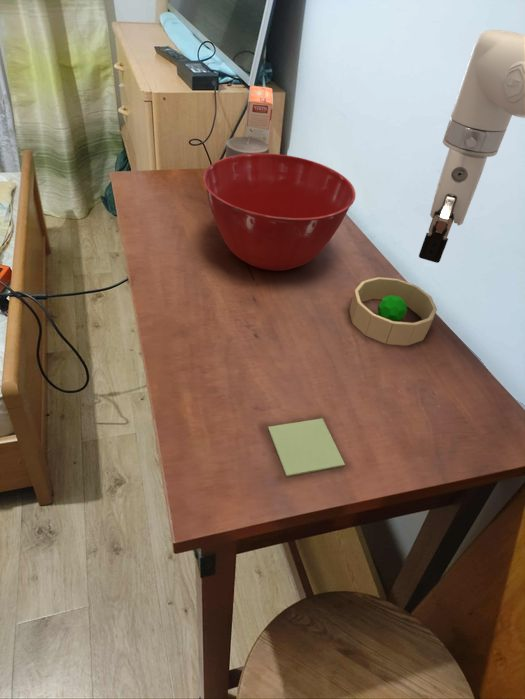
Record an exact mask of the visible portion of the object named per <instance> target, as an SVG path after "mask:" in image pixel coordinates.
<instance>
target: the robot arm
mask: <svg viewBox="0 0 525 699" xmlns="http://www.w3.org/2000/svg"><path fill="white" fill-rule="evenodd" d="M512 117H516V118H522V119H525V34H524V33H519V32H516V31H511V30H510V31H509V30H502V29H489V30H485V31H483V32H482V33H480V34H479V35H478V36H477V38H476V40H475V42H474V45H473V47H472V50H471V54H470V56H469V59H468V63H467V66H466V69H465V72H464V74H463V77H462V81H461V84H460V87H459V90H458V93H457V96H456V99H455V103H454V106H453V109H452V111H451V114H450V116H449V120H448V123H447V126H446V130H445V133H444V136H443V139H442V144H443V145H444V146H445V147H446V148H448V151H447V154H446V157H445V160H444V163H443V167H442V169H441V172H440V176H439V179H438V182H437V186H436V189H435V193H434V196H433V201H432V205H431V209H430V214H429V216H430V217H431V221H430V225H429V227H428V232H426V233H425V236H424V239H423V243H422V245H421V248H420V251H419V253H418V258H419V259H423V260H425V261H429V262H432V263H436V264H439V263H440V261H441V259H442V257H443V254H444V251H445V249H446V246H447V243H448V241H449V238H448V237H449V233H450V230H451V228H452V225H453V223H454V224H457V226H461V225H463V224H464V222H465V218H466V216H467V214H468V211H469V208H470V205H471V202H472V200H473V197H474V195H475V192H476V190H477V188H478V185H479V183H480V179H481V177H482V174H483V172H484V168H485V165H486V162H487V159H488V158H490V157H494V156H496V155H498V152H499V149H500V147H501V145H502V142H503V139H504V136H505V134H506V132H507V129H508V126H509V124H510V122H511V119H512Z"/></svg>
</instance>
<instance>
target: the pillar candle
mask: <svg viewBox="0 0 525 699" xmlns="http://www.w3.org/2000/svg"><path fill="white" fill-rule="evenodd" d="M225 145H226V147H225V158H227V157H231V156H235V155H242V154H252V153H269V154H270V145H269V143H268V144H267V143H266V142H264V141H262V140H260V139H256V138H251V137H245V136H235V137H231V138H229V139H227V140H226V141H225Z"/></svg>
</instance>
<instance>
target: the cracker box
mask: <svg viewBox="0 0 525 699" xmlns="http://www.w3.org/2000/svg"><path fill="white" fill-rule="evenodd" d="M246 106H247V107H246V116H245V117H246V118H245V128H244V137H251V138H256V139H260V140H262V141H264V142H266V143H267V144H268V145H269V140H270V132H271V123H272V116H273V107H274V98H273V88H271V87H268V86H256V85H249V91H248V98H247V105H246Z"/></svg>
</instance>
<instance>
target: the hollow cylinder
mask: <svg viewBox="0 0 525 699" xmlns="http://www.w3.org/2000/svg"><path fill="white" fill-rule="evenodd" d="M389 295H393V296H399V297H401V298H402V299H403V300H404V301H405V303H406V305H407V308H409V309H410V310H411V311H413V312H414V313H415V314H416V315H417V316H418V317H420V319H421V320H417V321H415V322H407V321H406V322H405V321H400V322H395V321H391V320H389V319H386V318H384V317H381V316H379V314H375V313H374V312H372V310H370V308H368V307H367V306H366V305H365V304H364V302H367V301H372V300H382V299H383V298H384V297H386V296H389ZM351 299H352V300H351V303H350V306H349V316H350V320H351V323H352V325H353V326H354V327H355V328H357V329H358V330H359V331H360V332H361V334H363V335H364V336H366V337H368V338H370V339H372V340H375V341H377V342H379V343H382V344H385V345H391V346H404V347H405V346H407V347H408V346H411V345H415V344H416V343H419V342H422V341H424V339H425V338H426V336H427V335H428V332H429V330H430V328H431V326H432V324H433V320H434V318H435V315H436V313H437V310H438V309H437V306H436V304H435V302H434V299H433V297H432V296H431V295H430V294H428V293H427V292H425V290H424V289H422V288H421V287H420V286H418V285H416V284H414V283H411V282H408V281H405V280H402V279H399V278H395V277H394V278H392V277H383V276H382V277H380V276H377V277H373V278H369V279H365V280H362V281H361V282H360V284H358V286H357V287H356V288H355V289H354V292H353V295H352V298H351Z"/></svg>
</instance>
